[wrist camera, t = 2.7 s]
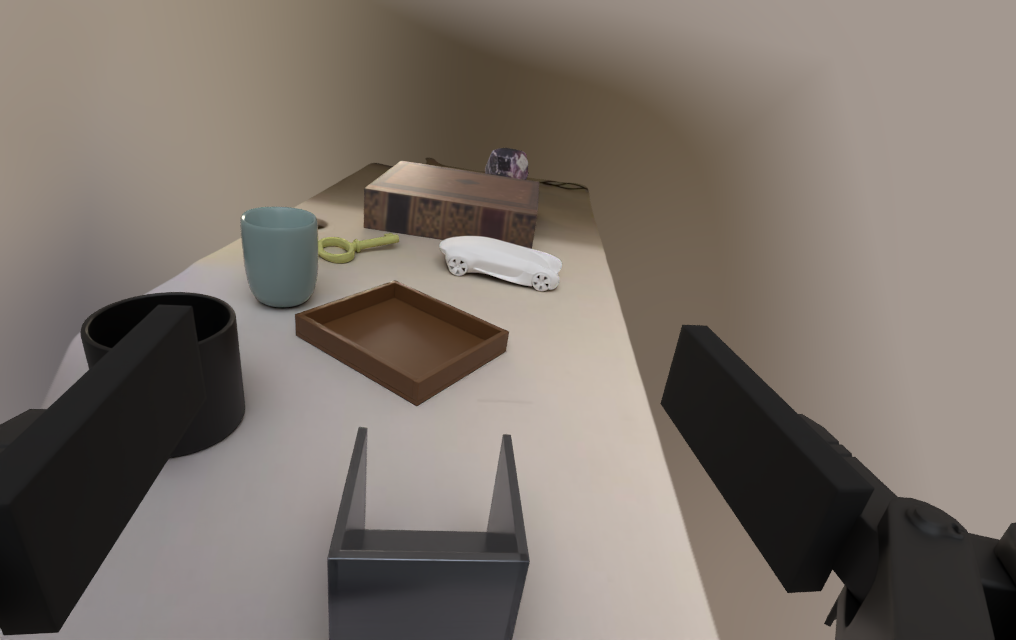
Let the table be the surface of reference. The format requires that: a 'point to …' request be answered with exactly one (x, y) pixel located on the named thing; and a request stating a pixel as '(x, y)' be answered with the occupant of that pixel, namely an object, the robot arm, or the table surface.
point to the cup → (280, 254)
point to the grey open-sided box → (426, 569)
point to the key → (351, 246)
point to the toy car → (501, 261)
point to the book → (452, 204)
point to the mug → (215, 353)
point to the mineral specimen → (508, 163)
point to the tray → (402, 339)
